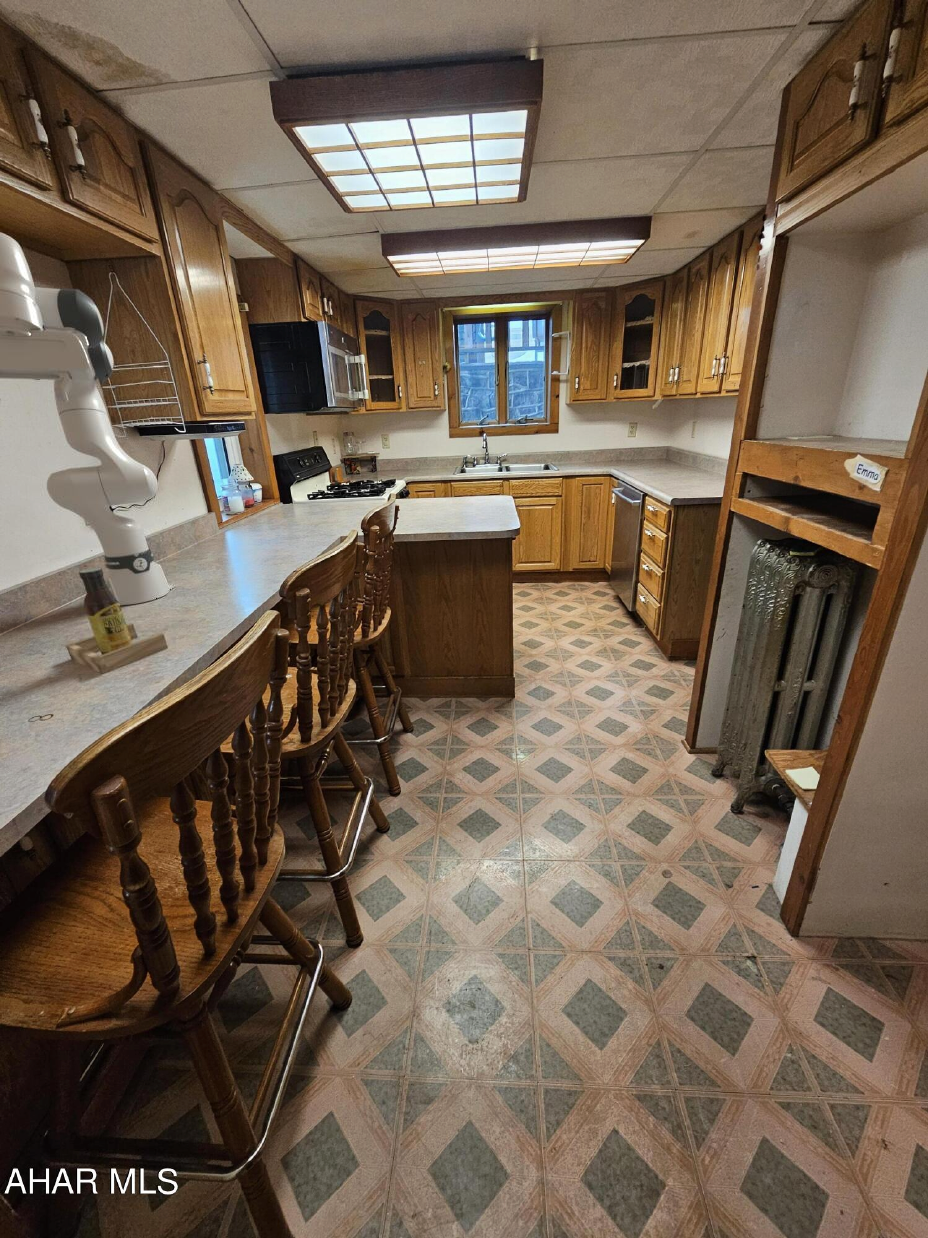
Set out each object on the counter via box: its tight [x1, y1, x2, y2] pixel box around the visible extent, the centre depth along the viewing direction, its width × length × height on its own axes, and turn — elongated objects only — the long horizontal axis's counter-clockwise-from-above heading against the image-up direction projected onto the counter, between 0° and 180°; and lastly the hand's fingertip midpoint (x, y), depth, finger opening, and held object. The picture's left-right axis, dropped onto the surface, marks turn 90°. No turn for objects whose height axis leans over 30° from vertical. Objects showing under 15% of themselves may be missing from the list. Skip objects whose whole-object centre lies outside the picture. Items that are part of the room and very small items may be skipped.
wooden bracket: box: [65, 622, 169, 675], centre depth 110 cm, size 16×14×4 cm
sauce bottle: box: [78, 567, 133, 655], centre depth 107 cm, size 6×6×20 cm
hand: (29, 399), depth 84 cm, fingers open, 8 cm apart
